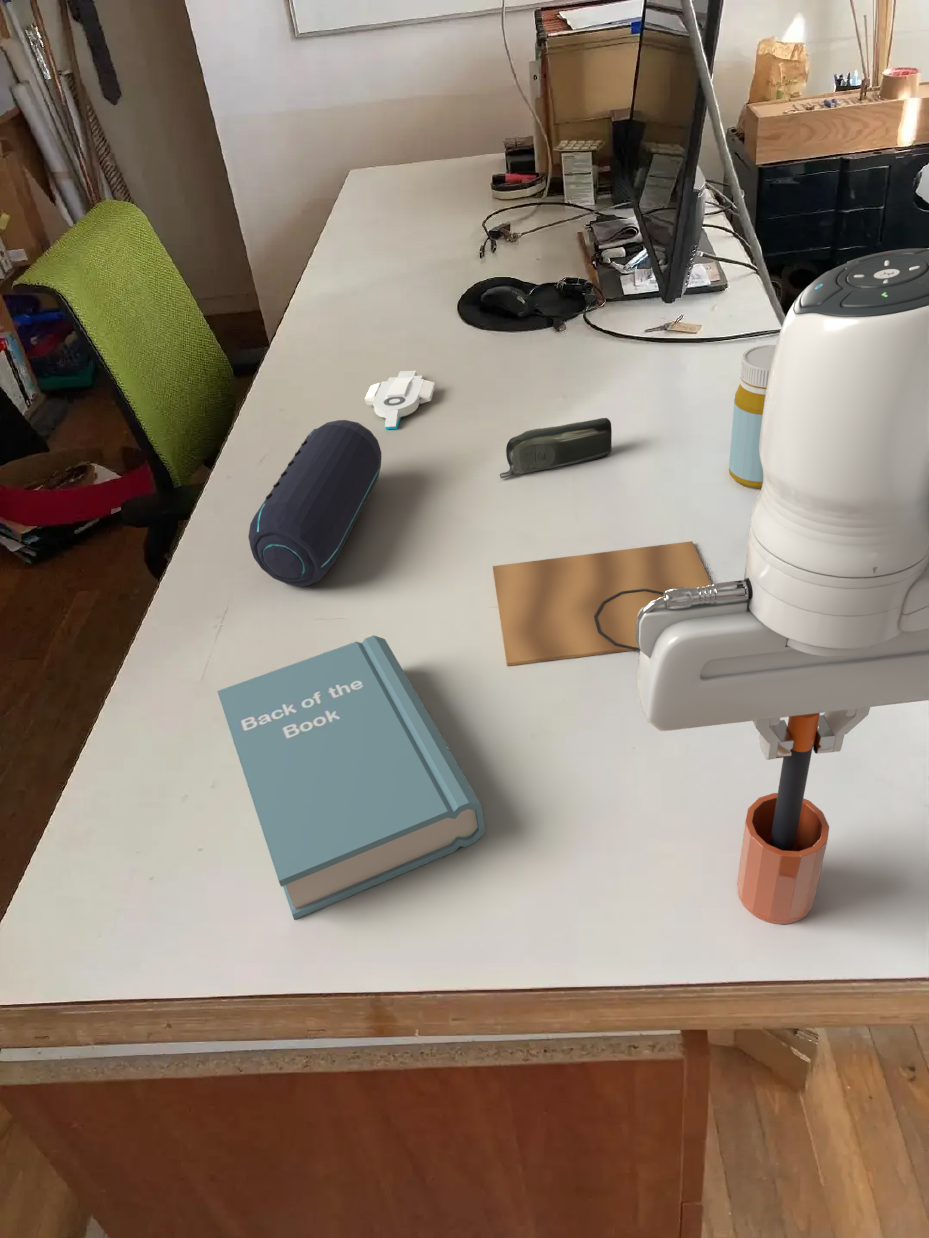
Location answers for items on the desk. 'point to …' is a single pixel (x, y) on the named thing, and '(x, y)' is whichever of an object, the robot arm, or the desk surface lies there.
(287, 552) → the portable speaker
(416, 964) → the desk surface
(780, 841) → the marker
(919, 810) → the desk surface
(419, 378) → the toy rocket
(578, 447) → the mobile phone
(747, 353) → the bottle
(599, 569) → the paper mat
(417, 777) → the book
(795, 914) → the pen cup
